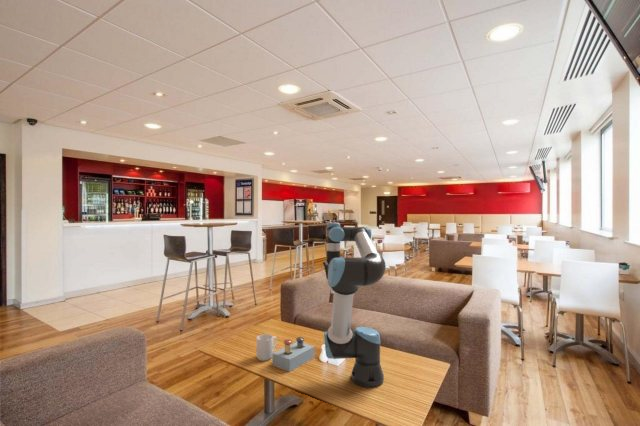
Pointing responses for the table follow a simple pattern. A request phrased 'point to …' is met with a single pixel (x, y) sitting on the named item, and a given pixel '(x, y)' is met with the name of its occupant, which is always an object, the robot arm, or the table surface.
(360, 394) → the table surface
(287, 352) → the brass plug
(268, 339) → the mug
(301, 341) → the dark plug
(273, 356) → the block
